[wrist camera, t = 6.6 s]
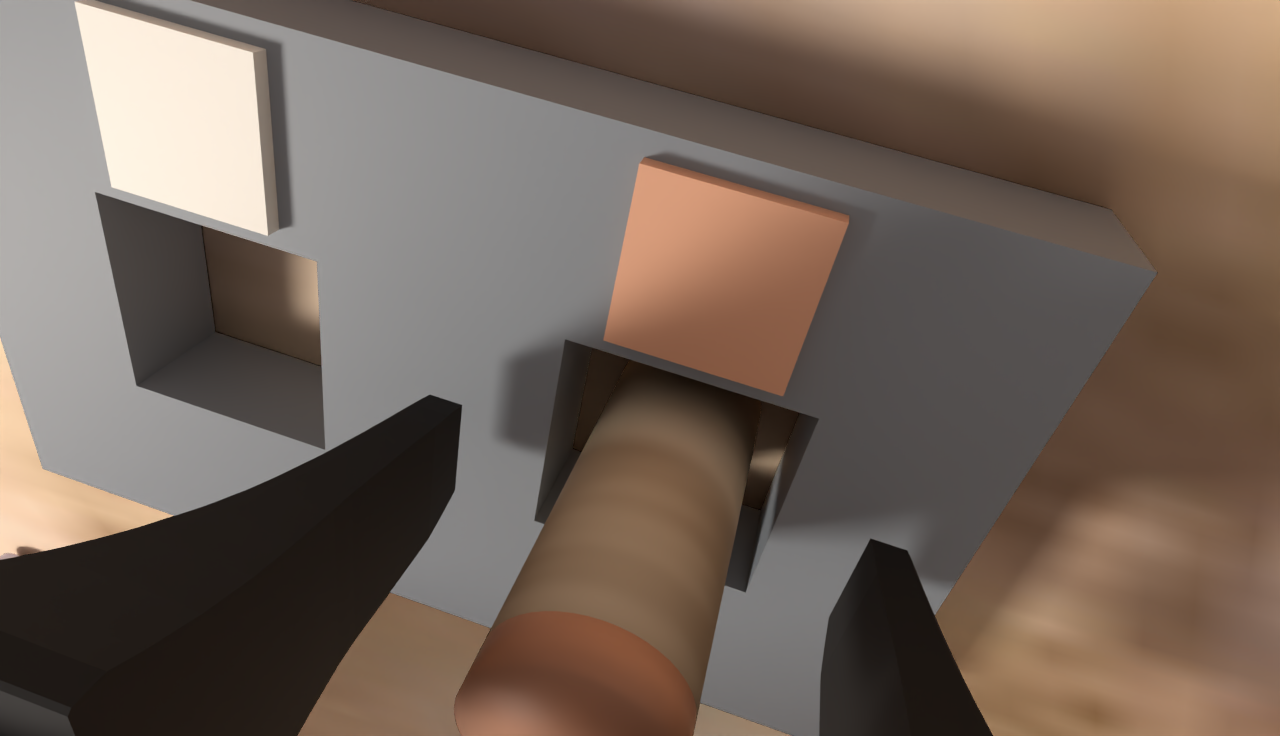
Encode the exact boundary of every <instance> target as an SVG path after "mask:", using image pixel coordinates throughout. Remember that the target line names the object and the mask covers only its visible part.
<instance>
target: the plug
mask: <svg viewBox="0 0 1280 736" xmlns="http://www.w3.org/2000/svg"><path fill="white" fill-rule="evenodd" d="M760 416H761V400H758V399H754V398H751V397H748V396H745V395H742V394H738V393H735V392H732V391H729V390H726V389H723V388H719V387H716V386H713V385H710V384H707V383H703V382H700V381H697V380H694V379H691V378H687V377H684V376H681V375H678V374H675V373H671V372H668V371H665V370H662V369H659V368H655V367H652V366H649V365H646V364H643V363H639V362H636V361H633V360H630V361H629V362H628V364H627V365H626V366H625V368H624V370H623V372H622V374H621V376H620V378H619V380H618V382H617V384H616V386H615V388H614V390H613V392H612V394H611V396H610V398H609V400H608V402H607V404H606V405H605V407H604V409H603V411H602V413H601V415H600V417H599V419H598V421H597V423H596V425H595V427H594V429H593V431H592V433H591V435H590V437H589V439H588V441H587V442H586V444H585V446H584V448H583V450H582V452H581V454H580V456H579V458H578V460H577V462H576V464H575V466H574V468H573V470H572V472H571V474H570V476H569V478H568V479H567V481H566V483H565V485H564V487H563V489H562V491H561V493H560V495H559V497H558V499H557V501H556V503H555V505H554V507H553V509H552V511H551V513H550V515H549V516H548V518H547V520H546V522H545V524H544V526H543V528H542V530H541V532H540V534H539V536H538V538H537V540H536V542H535V544H534V546H533V548H532V550H531V552H530V553H529V555H528V557H527V559H526V561H525V563H524V565H523V567H522V569H521V571H520V573H519V575H518V577H517V579H516V581H515V583H514V585H513V587H512V589H511V590H510V592H509V594H508V596H507V598H506V600H505V602H504V604H503V606H502V608H501V610H500V612H499V614H498V616H497V618H496V620H495V622H494V624H493V626H492V627H491V629H490V631H489V633H488V635H487V637H486V639H485V641H484V643H483V645H482V647H481V649H480V651H479V653H478V655H477V657H476V659H475V661H474V663H473V664H472V666H471V668H470V670H469V672H468V674H467V676H466V678H465V680H464V682H463V684H462V686H461V688H460V690H459V692H458V694H457V696H456V700H455V704H454V715H455V720H456V724H457V727H458V729H459V732H460V734H461V736H693V733H694V728H695V724H696V719H697V714H698V709H699V705H700V700H701V695H702V691H703V686H704V681H705V676H706V672H707V667H708V662H709V657H710V653H711V648H712V643H713V638H714V634H715V629H716V624H717V620H718V615H719V610H720V605H721V601H722V596H723V591H724V586H725V582H726V577H727V572H728V567H729V563H730V558H731V553H732V549H733V544H734V539H735V534H736V530H737V525H738V520H739V515H740V511H741V506H742V501H743V496H744V492H745V487H746V482H747V478H748V473H749V468H750V463H751V459H752V454H753V449H754V444H755V440H756V435H757V430H758V425H759V421H760Z"/></svg>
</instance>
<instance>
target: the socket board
mask: <svg viewBox="0 0 1280 736" xmlns="http://www.w3.org/2000/svg"><path fill="white" fill-rule="evenodd" d="M201 225H202V226H205V227H208V228H212V229H215V230H218V231H221V232H224V233H228V234H231V235H234V236H237V237H240V238H243V239H247V240H250V241H253V242H256V243H259V244H263V245H266V246H269V247H272V248H275V249H279V250H282V251H285V252H288V253H291V254H295V255H298V256H301V257H304V258H307V259H311V260H314V261H317V272H318V295H319V318H320V340H321V363H322V367H321V366H318V365H314V364H311V363H308V362H305V361H302V360H299V359H296V358H293V357H290V356H287V355H284V354H281V353H278V352H275V351H272V350H269V349H266V348H263V347H260V346H257V345H253V344H250V343H247V342H244V341H241V340H238V339H235V338H232V337H229V336H226V335H223V334H220V333H217V332H215V325H214V318H213V311H212V303H211V296H210V288H209V281H208V274H207V266H206V259H205V252H204V244H203V237H202V229H201ZM1157 273H1158V272H1157V271H1156V270H1155V268H1154V267H1153V266H1152V264H1151V263H1150V262H1149V260H1148V259H1147V257H1146V256H1145V255H1144V253H1143V252H1142V251H1141V249H1140V248H1139V247H1138V245H1137V244H1136V243H1135V241H1134V240H1133V239H1132V237H1131V236H1130V234H1129V233H1128V232H1127V230H1126V229H1125V228H1124V226H1123V225H1122V224H1121V222H1120V221H1119V220H1118V218H1117V217H1116V215H1115V214H1114V213H1113V211H1112V210H1111V209H1107V208H1103V207H1100V206H1096V205H1093V204H1089V203H1085V202H1082V201H1078V200H1074V199H1071V198H1067V197H1064V196H1060V195H1056V194H1053V193H1049V192H1045V191H1042V190H1038V189H1034V188H1031V187H1027V186H1024V185H1020V184H1016V183H1013V182H1009V181H1005V180H1002V179H998V178H994V177H991V176H987V175H984V174H980V173H976V172H973V171H969V170H965V169H962V168H958V167H954V166H951V165H947V164H944V163H940V162H936V161H933V160H929V159H925V158H922V157H918V156H915V155H911V154H907V153H904V152H900V151H896V150H893V149H889V148H885V147H882V146H878V145H875V144H871V143H867V142H864V141H860V140H856V139H853V138H849V137H845V136H842V135H838V134H835V133H831V132H827V131H824V130H820V129H816V128H813V127H809V126H806V125H802V124H798V123H795V122H791V121H787V120H784V119H780V118H776V117H773V116H769V115H766V114H762V113H758V112H755V111H751V110H747V109H744V108H740V107H736V106H733V105H729V104H726V103H722V102H718V101H715V100H711V99H707V98H704V97H700V96H696V95H693V94H689V93H686V92H682V91H678V90H675V89H671V88H667V87H664V86H660V85H657V84H653V83H649V82H646V81H642V80H638V79H635V78H631V77H627V76H624V75H620V74H617V73H613V72H609V71H606V70H602V69H598V68H595V67H591V66H587V65H584V64H580V63H577V62H573V61H569V60H566V59H562V58H558V57H555V56H551V55H547V54H544V53H540V52H537V51H533V50H529V49H526V48H522V47H518V46H515V45H511V44H508V43H504V42H500V41H497V40H493V39H489V38H486V37H482V36H478V35H475V34H471V33H468V32H464V31H460V30H457V29H453V28H449V27H446V26H442V25H438V24H435V23H431V22H428V21H424V20H420V19H417V18H413V17H409V16H406V15H402V14H399V13H395V12H391V11H388V10H384V9H380V8H377V7H373V6H369V5H366V4H362V3H359V2H355V1H351V0H0V338H1V341H2V344H3V348H4V351H5V354H6V357H7V360H8V363H9V366H10V369H11V372H12V375H13V378H14V381H15V385H16V388H17V391H18V394H19V397H20V400H21V403H22V406H23V409H24V412H25V415H26V419H27V422H28V425H29V428H30V431H31V434H32V437H33V440H34V443H35V446H36V449H37V453H38V456H39V459H40V462H41V465H42V468H43V469H45V470H48V471H50V472H53V473H56V474H59V475H62V476H64V477H67V478H70V479H73V480H76V481H78V482H81V483H84V484H87V485H90V486H92V487H95V488H98V489H101V490H104V491H107V492H109V493H112V494H115V495H118V496H121V497H123V498H126V499H129V500H132V501H135V502H137V503H140V504H143V505H146V506H149V507H151V508H154V509H157V510H160V511H163V512H166V513H168V514H171V515H174V516H175V515H179V514H182V513H185V512H188V511H191V510H194V509H197V508H200V507H203V506H206V505H208V504H211V503H214V502H216V501H219V500H222V499H224V498H227V497H229V496H232V495H234V494H237V493H240V492H242V491H245V490H247V489H250V488H252V487H254V486H256V485H259V484H261V483H263V482H266V481H268V480H270V479H272V478H274V477H277V476H279V475H281V474H283V473H285V472H287V471H289V470H291V469H293V468H295V467H297V466H299V465H301V464H303V463H305V462H308V461H310V460H312V459H314V458H316V457H318V456H320V455H322V454H324V453H325V452H327V451H329V450H331V449H333V448H335V447H337V446H338V445H340V444H342V443H344V442H346V441H348V440H350V439H351V438H353V437H355V436H357V435H359V434H361V433H362V432H364V431H366V430H368V429H370V428H371V427H373V426H375V425H377V424H378V423H380V422H382V421H384V420H385V419H387V418H389V417H391V416H392V415H394V414H396V413H397V412H399V411H401V410H403V409H404V408H406V407H408V406H410V405H411V404H413V403H415V402H417V401H419V400H420V399H422V398H424V397H426V396H428V395H433V396H436V397H439V398H442V399H445V400H448V401H451V402H455V403H458V404H461V405H462V414H461V426H460V438H459V449H458V461H457V473H456V485H455V491H454V493H453V495H452V497H451V499H450V501H449V503H448V505H447V506H446V508H445V510H444V512H443V514H442V516H441V518H440V519H439V521H438V523H437V525H436V526H435V528H434V530H433V532H432V533H431V535H430V537H429V539H428V540H427V542H426V543H425V544H424V546H423V547H422V549H421V550H420V551H419V553H418V554H417V556H416V557H415V558H414V560H413V561H412V563H411V564H410V565H409V567H408V568H407V570H406V571H405V572H404V574H403V575H402V576H401V578H400V579H399V581H398V582H397V583H396V585H395V586H394V587H393V589H392V590H391V591H390V593H393V594H396V595H399V596H402V597H404V598H407V599H410V600H413V601H416V602H418V603H421V604H424V605H427V606H430V607H432V608H435V609H438V610H441V611H444V612H446V613H449V614H452V615H455V616H458V617H461V618H463V619H466V620H469V621H472V622H475V623H477V624H480V625H483V626H486V627H489V628H491V627H492V626H493V624H494V622H495V620H496V618H497V616H498V614H499V612H500V610H501V608H502V606H503V604H504V602H505V600H506V598H507V596H508V594H509V592H510V590H511V589H512V587H513V585H514V583H515V581H516V579H517V577H518V575H519V573H520V571H521V569H522V567H523V565H524V563H525V561H526V559H527V557H528V555H529V553H530V552H531V550H532V548H533V546H534V544H535V542H536V540H537V538H538V536H539V534H540V532H541V530H542V528H543V526H544V524H545V522H546V520H547V518H548V516H549V515H550V513H551V511H552V509H553V507H554V505H555V503H556V501H557V499H558V497H559V495H560V493H561V491H562V489H563V487H564V485H565V483H566V481H567V479H568V478H569V476H570V474H571V472H572V470H573V468H574V466H575V464H576V462H577V460H578V458H579V456H580V454H581V452H580V451H577V450H574V449H572V448H573V443H574V438H575V433H576V428H577V423H578V418H579V413H580V407H581V402H582V397H583V392H584V387H585V382H586V377H587V372H588V366H589V361H590V356H591V351H592V348H595V349H598V350H601V351H604V352H608V353H611V354H614V355H617V356H620V357H624V358H627V359H630V360H633V361H636V362H639V363H643V364H646V365H649V366H652V367H655V368H659V369H662V370H665V371H668V372H671V373H675V374H678V375H681V376H684V377H687V378H691V379H694V380H697V381H700V382H703V383H707V384H710V385H713V386H716V387H719V388H723V389H726V390H729V391H732V392H735V393H738V394H742V395H745V396H748V397H751V398H754V399H758V400H761V401H764V402H767V403H770V404H774V405H777V406H780V407H783V408H786V409H790V410H793V411H796V412H799V416H798V418H797V421H796V423H795V426H794V428H793V431H792V433H791V436H790V438H789V441H788V443H787V446H786V448H785V451H784V453H783V456H782V458H781V461H780V463H779V466H778V468H777V471H776V473H775V476H774V478H773V481H772V483H771V486H770V488H769V491H768V493H767V496H766V498H765V501H764V503H763V506H762V508H761V511H760V510H757V509H754V508H751V507H748V506H745V505H742V506H741V511H740V515H739V520H738V525H737V530H736V534H735V539H734V544H733V549H732V553H731V558H730V563H729V567H728V572H727V577H726V582H725V586H724V591H723V596H722V601H721V605H720V610H719V615H718V620H717V624H716V629H715V634H714V638H713V643H712V648H711V653H710V657H709V662H708V667H707V672H706V676H705V681H704V686H703V691H702V695H701V700H700V703H702V704H705V705H708V706H711V707H713V708H716V709H719V710H722V711H725V712H727V713H730V714H733V715H736V716H739V717H742V718H744V719H747V720H750V721H753V722H756V723H758V724H761V725H764V726H767V727H770V728H772V729H775V730H778V731H781V732H784V733H786V734H789V735H792V736H819V721H820V679H821V668H822V661H823V653H824V646H825V639H826V633H827V626H828V620H829V616H830V614H831V612H832V610H833V608H834V606H835V605H836V603H837V601H838V599H839V597H840V595H841V593H842V591H843V589H844V588H845V586H846V584H847V582H848V580H849V578H850V576H851V574H852V572H853V571H854V569H855V567H856V565H857V563H858V561H859V559H860V557H861V555H862V554H863V552H864V550H865V548H866V546H867V544H868V542H869V540H870V538H871V539H874V540H877V541H880V542H883V543H886V544H889V545H892V546H895V547H898V548H902V549H905V550H907V551H908V553H909V555H910V557H911V559H912V561H913V564H914V566H915V569H916V571H917V574H918V576H919V579H920V581H921V584H922V586H923V589H924V591H925V594H926V596H927V598H928V601H929V603H930V606H931V608H932V610H933V613H934V615H935V614H936V613H937V611H938V610H939V608H940V606H941V605H942V603H943V602H944V600H945V599H946V597H947V596H948V594H949V593H950V591H951V590H952V588H953V586H954V585H955V583H956V582H957V580H958V579H959V577H960V576H961V574H962V573H963V571H964V570H965V568H966V566H967V565H968V563H969V562H970V560H971V559H972V557H973V556H974V554H975V553H976V551H977V550H978V548H979V546H980V545H981V543H982V542H983V540H984V539H985V537H986V536H987V534H988V533H989V531H990V530H991V528H992V526H993V525H994V523H995V522H996V520H997V519H998V517H999V516H1000V514H1001V513H1002V511H1003V510H1004V508H1005V507H1006V505H1007V503H1008V502H1009V500H1010V499H1011V497H1012V496H1013V494H1014V493H1015V491H1016V490H1017V488H1018V487H1019V485H1020V483H1021V482H1022V480H1023V479H1024V477H1025V476H1026V474H1027V473H1028V471H1029V470H1030V468H1031V467H1032V465H1033V463H1034V462H1035V460H1036V459H1037V457H1038V456H1039V454H1040V453H1041V451H1042V450H1043V448H1044V447H1045V445H1046V443H1047V442H1048V440H1049V439H1050V437H1051V436H1052V434H1053V433H1054V431H1055V430H1056V428H1057V427H1058V425H1059V424H1060V422H1061V420H1062V419H1063V417H1064V416H1065V414H1066V413H1067V411H1068V410H1069V408H1070V407H1071V405H1072V404H1073V402H1074V400H1075V399H1076V397H1077V396H1078V394H1079V393H1080V391H1081V390H1082V388H1083V387H1084V385H1085V384H1086V382H1087V380H1088V379H1089V377H1090V376H1091V374H1092V373H1093V371H1094V370H1095V368H1096V367H1097V365H1098V364H1099V362H1100V360H1101V359H1102V357H1103V356H1104V354H1105V353H1106V351H1107V350H1108V348H1109V347H1110V345H1111V344H1112V342H1113V340H1114V339H1115V337H1116V336H1117V334H1118V333H1119V331H1120V330H1121V328H1122V327H1123V325H1124V324H1125V322H1126V321H1127V319H1128V317H1129V316H1130V314H1131V313H1132V311H1133V310H1134V308H1135V307H1136V305H1137V304H1138V302H1139V301H1140V299H1141V297H1142V296H1143V294H1144V293H1145V291H1146V290H1147V288H1148V287H1149V285H1150V284H1151V282H1152V281H1153V279H1154V277H1155V276H1156V274H1157Z"/></svg>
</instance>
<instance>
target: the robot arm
mask: <svg viewBox="0 0 1280 736" xmlns="http://www.w3.org/2000/svg"><path fill="white" fill-rule="evenodd" d="M461 414H462V405H461V404H458V403H455V402H451V401H448V400H445V399H442V398H439V397H436V396H433V395H428V396H426V397H424V398H422V399H420V400H419V401H417V402H415V403H413V404H411V405H410V406H408V407H406V408H404V409H403V410H401V411H399V412H397V413H396V414H394V415H392V416H391V417H389V418H387V419H385V420H384V421H382V422H380V423H378V424H377V425H375V426H373V427H371V428H370V429H368V430H366V431H364V432H362V433H361V434H359V435H357V436H355V437H353V438H351V439H350V440H348V441H346V442H344V443H342V444H340V445H338V446H337V447H335V448H333V449H331V450H329V451H327V452H325V453H324V454H322V455H320V456H318V457H316V458H314V459H312V460H310V461H308V462H305V463H303V464H301V465H299V466H297V467H295V468H293V469H291V470H289V471H287V472H285V473H283V474H281V475H279V476H277V477H274V478H272V479H270V480H268V481H266V482H263V483H261V484H259V485H256V486H254V487H252V488H250V489H247V490H245V491H242V492H240V493H237V494H234V495H232V496H229V497H227V498H224V499H222V500H219V501H216V502H214V503H211V504H208V505H206V506H203V507H200V508H197V509H194V510H191V511H188V512H185V513H182V514H179V515H175V516H172V517H169V518H166V519H163V520H160V521H157V522H154V523H151V524H148V525H145V526H141V527H138V528H135V529H131V530H128V531H124V532H120V533H117V534H113V535H109V536H106V537H102V538H98V539H94V540H90V541H86V542H82V543H78V544H74V545H70V546H66V547H61V548H57V549H52V550H48V551H43V552H39V553H33V554H28V555H23V556H18V555H16V554H12V553H4V554H3V555H1V556H0V736H297V735H298V733H299V732H300V730H301V728H302V726H303V725H304V723H305V721H306V719H307V717H308V716H309V714H310V712H311V711H312V709H313V707H314V705H315V704H316V702H317V700H318V699H319V697H320V695H321V694H322V692H323V690H324V688H325V687H326V685H327V683H328V682H329V680H330V678H331V677H332V675H333V673H334V672H335V670H336V668H337V666H338V665H339V663H340V662H341V660H342V659H343V657H344V656H345V654H346V653H347V651H348V650H349V648H350V647H351V645H352V644H353V642H354V641H355V639H356V638H357V637H358V635H359V634H360V632H361V631H362V630H363V628H364V627H365V626H366V624H367V623H368V621H369V620H370V619H371V617H372V616H373V615H374V613H375V612H376V611H377V609H378V608H379V606H380V605H381V604H382V602H383V601H384V600H385V598H386V597H387V596H388V594H389V593H390V591H391V590H392V589H393V587H394V586H395V585H396V583H397V582H398V581H399V579H400V578H401V576H402V575H403V574H404V572H405V571H406V570H407V568H408V567H409V565H410V564H411V563H412V561H413V560H414V558H415V557H416V556H417V554H418V553H419V551H420V550H421V549H422V547H423V546H424V544H425V543H426V542H427V540H428V539H429V537H430V535H431V533H432V532H433V530H434V528H435V526H436V525H437V523H438V521H439V519H440V518H441V516H442V514H443V512H444V510H445V508H446V506H447V505H448V503H449V501H450V499H451V497H452V495H453V493H454V491H455V485H456V473H457V461H458V449H459V438H460V426H461ZM819 736H993V735H992V733H991V731H990V729H989V727H988V725H987V724H986V722H985V720H984V718H983V716H982V714H981V712H980V710H979V708H978V707H977V705H976V703H975V701H974V699H973V697H972V695H971V693H970V691H969V689H968V687H967V685H966V683H965V681H964V679H963V677H962V675H961V673H960V670H959V668H958V666H957V664H956V662H955V660H954V658H953V655H952V653H951V651H950V649H949V647H948V645H947V643H946V640H945V638H944V636H943V634H942V631H941V629H940V627H939V625H938V622H937V620H936V617H935V615H934V613H933V610H932V608H931V606H930V603H929V601H928V598H927V596H926V594H925V591H924V589H923V586H922V584H921V581H920V579H919V576H918V574H917V571H916V569H915V566H914V564H913V561H912V559H911V557H910V555H909V553H908V551H907V550H905V549H902V548H898V547H895V546H892V545H889V544H886V543H883V542H880V541H877V540H874V539H871V538H870V540H869V542H868V544H867V546H866V548H865V550H864V552H863V554H862V555H861V557H860V559H859V561H858V563H857V565H856V567H855V569H854V571H853V572H852V574H851V576H850V578H849V580H848V582H847V584H846V586H845V588H844V589H843V591H842V593H841V595H840V597H839V599H838V601H837V603H836V605H835V606H834V608H833V610H832V612H831V614H830V616H829V620H828V626H827V633H826V639H825V646H824V653H823V661H822V668H821V679H820V721H819Z"/></svg>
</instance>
